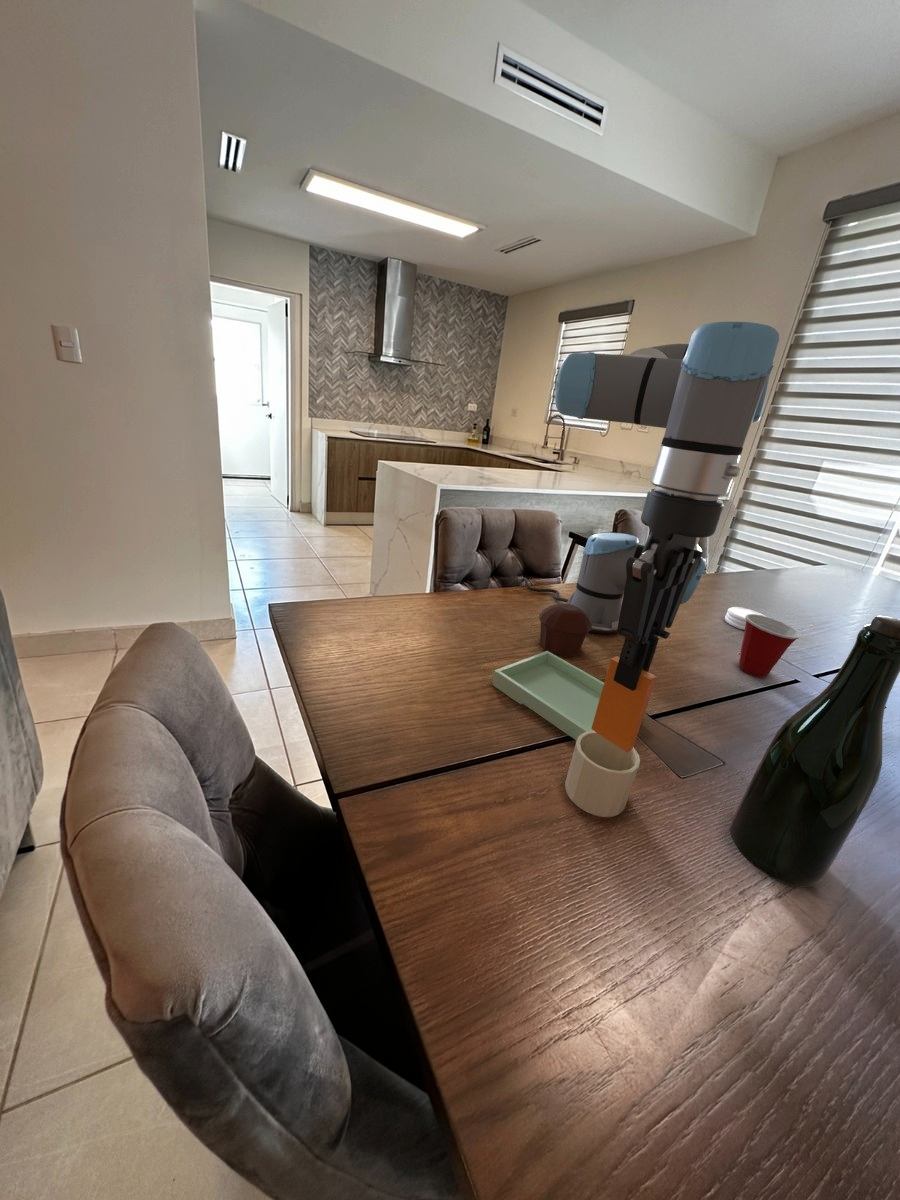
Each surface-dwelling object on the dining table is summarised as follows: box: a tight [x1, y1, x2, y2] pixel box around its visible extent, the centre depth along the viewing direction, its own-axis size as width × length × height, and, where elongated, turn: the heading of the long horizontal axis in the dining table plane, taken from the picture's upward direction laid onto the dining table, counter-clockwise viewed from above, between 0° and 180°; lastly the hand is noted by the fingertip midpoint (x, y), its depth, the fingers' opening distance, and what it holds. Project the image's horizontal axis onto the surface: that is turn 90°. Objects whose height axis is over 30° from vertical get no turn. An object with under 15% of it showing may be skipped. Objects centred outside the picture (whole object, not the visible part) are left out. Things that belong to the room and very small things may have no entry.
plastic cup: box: [738, 614, 803, 678], centre depth 105 cm, size 11×11×12 cm
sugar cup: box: [564, 731, 641, 818], centre depth 64 cm, size 8×8×8 cm
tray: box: [491, 650, 605, 742], centre depth 86 cm, size 22×16×3 cm
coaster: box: [724, 606, 765, 631], centre depth 132 cm, size 10×10×4 cm
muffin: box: [538, 602, 592, 658], centre depth 105 cm, size 12×11×10 cm
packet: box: [591, 655, 657, 753], centre depth 60 cm, size 6×1×11 cm, turn 40°
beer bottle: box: [729, 615, 900, 888], centre depth 54 cm, size 10×10×33 cm
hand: (628, 682), depth 59 cm, fingers closed on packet
